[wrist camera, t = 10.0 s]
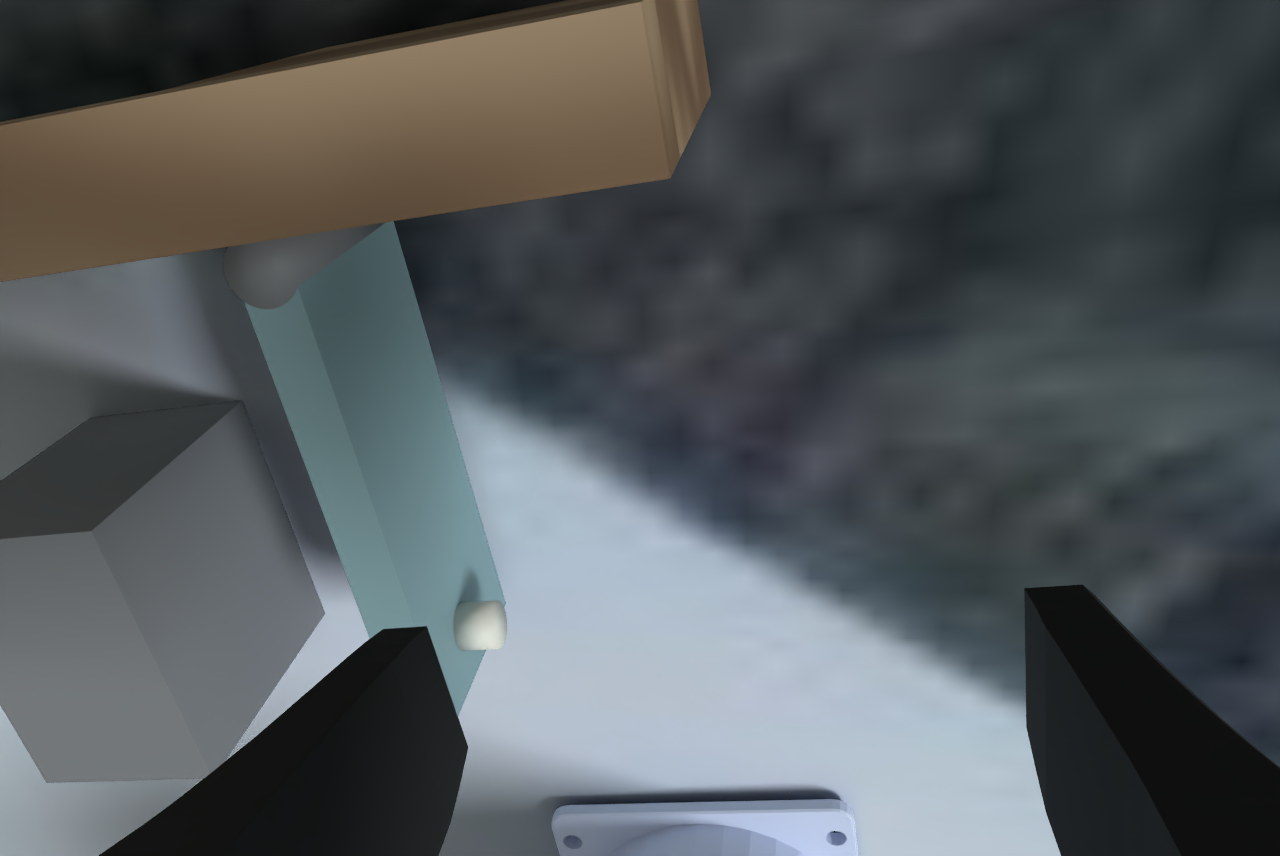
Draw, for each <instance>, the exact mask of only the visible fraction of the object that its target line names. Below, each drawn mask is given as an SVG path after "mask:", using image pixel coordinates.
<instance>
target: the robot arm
mask: <svg viewBox="0 0 1280 856" xmlns="http://www.w3.org/2000/svg"><path fill="white" fill-rule="evenodd" d="M1024 592H1025V656H1026V719H1027V731H1028V736H1029V740H1030V745H1031V749H1032V754H1033V758H1034V762H1035V767H1036V771H1037V776H1038V780H1039V784H1040V788H1041V793H1042V797H1043V801H1044V805H1045V810H1046V813H1047V816H1048V819H1049V822H1050V825H1051V828H1052V830H1053V833H1054V836H1055V839H1056V842H1057V845H1058V848H1059V850H1060V853H1061V856H1280V767H1279V766H1277V765H1276V764H1275V763H1274V762H1272V761H1271V760H1270V759H1269V758H1268V757H1266V756H1265V755H1264V754H1263V753H1261V752H1260V751H1259V750H1258V749H1257V748H1255V747H1254V746H1253V745H1252V744H1250V743H1249V742H1248V741H1247V740H1246V739H1245V738H1243V737H1242V736H1241V735H1240V734H1239V733H1238V732H1236V731H1235V730H1234V729H1233V728H1232V727H1231V726H1230V725H1228V724H1227V723H1226V722H1225V721H1224V720H1223V719H1222V718H1220V717H1219V716H1218V715H1217V714H1216V713H1215V712H1214V711H1213V710H1212V709H1211V708H1209V707H1208V706H1207V705H1206V704H1205V703H1204V702H1203V701H1202V700H1201V699H1200V698H1198V697H1197V696H1196V695H1195V694H1194V693H1193V692H1192V691H1191V690H1190V689H1189V688H1187V687H1186V686H1185V685H1184V684H1183V683H1182V682H1181V681H1180V680H1179V679H1178V678H1177V677H1175V676H1174V675H1173V674H1172V673H1171V672H1170V671H1169V670H1168V669H1167V668H1166V667H1165V666H1164V665H1163V664H1162V663H1161V662H1160V661H1159V660H1158V659H1157V658H1156V657H1155V656H1154V655H1153V654H1152V653H1151V652H1150V651H1149V650H1148V649H1147V648H1146V647H1145V646H1144V645H1143V644H1142V643H1141V642H1140V641H1139V640H1138V639H1137V638H1136V637H1135V636H1134V635H1133V634H1132V633H1131V632H1130V631H1129V630H1128V629H1127V628H1126V627H1125V626H1124V625H1123V624H1122V623H1121V622H1120V621H1119V620H1118V619H1117V618H1116V617H1115V616H1114V615H1113V614H1112V613H1111V612H1110V611H1109V610H1108V609H1107V607H1106V606H1105V605H1104V604H1103V603H1102V602H1101V601H1100V600H1099V599H1098V598H1097V597H1096V596H1095V595H1094V594H1093V593H1092V592H1091V591H1090V590H1088V589H1087V588H1086V587H1085V586H1084V585H1071V586H1055V587H1039V588H1024ZM467 750H468V745H467V742H466V739H465V737H464V734H463V731H462V728H461V725H460V722H459V719H458V716H457V713H456V710H455V707H454V704H453V701H452V698H451V695H450V692H449V690H448V687H447V684H446V681H445V678H444V675H443V672H442V669H441V666H440V663H439V660H438V657H437V654H436V651H435V648H434V645H433V643H432V640H431V637H430V634H429V631H428V628H427V626H422V627H406V628H390V629H382V630H381V631H380V632H378V633H377V634H376V635H374V636H373V637H372V638H370V639H369V640H368V641H367V642H365V643H364V644H363V645H362V646H360V647H359V648H358V649H357V650H356V651H354V652H353V653H352V654H351V655H350V656H349V657H347V658H346V659H345V660H344V661H343V662H342V663H340V664H339V665H338V666H337V667H336V668H335V669H333V670H332V671H331V672H330V673H329V674H328V675H327V676H325V677H324V678H323V679H322V680H321V681H320V682H319V683H317V684H316V685H315V686H314V687H313V688H312V689H311V690H309V691H308V692H307V693H306V694H305V695H304V696H302V697H301V698H300V699H299V700H298V701H297V702H296V703H294V704H293V705H292V706H291V707H290V708H289V709H287V710H286V711H285V712H284V713H283V714H282V715H280V716H279V717H278V718H277V719H276V720H275V721H274V722H272V723H271V724H270V725H269V726H268V727H267V728H265V729H264V730H263V731H262V732H261V733H260V734H258V735H257V736H256V737H255V738H254V739H253V740H251V741H250V742H249V743H248V744H246V745H245V746H244V747H243V748H241V749H240V750H239V751H238V752H236V753H235V754H234V755H233V756H231V757H230V758H229V759H228V760H226V761H225V762H224V763H223V764H221V765H220V766H219V767H218V768H216V769H215V770H214V771H213V772H211V773H210V774H209V775H208V776H207V777H205V778H204V779H203V780H202V781H200V782H199V783H198V784H197V785H195V786H194V787H193V788H192V789H190V790H189V791H188V792H187V793H185V794H184V795H183V796H182V797H180V798H179V799H178V800H176V801H175V802H174V803H172V804H171V805H170V806H168V807H167V808H166V809H164V810H163V811H162V812H160V813H159V814H157V815H156V816H155V817H153V818H152V819H151V820H149V821H148V822H146V823H145V824H144V825H142V826H141V827H139V828H138V829H137V830H135V831H134V832H132V833H131V834H129V835H128V836H126V837H125V838H124V839H122V840H121V841H119V842H118V843H116V844H115V845H113V846H112V847H110V848H109V849H108V850H106V851H105V852H103V853H102V854H100V855H99V856H438V855H439V852H440V850H441V847H442V844H443V842H444V839H445V836H446V833H447V831H448V828H449V825H450V822H451V818H452V814H453V810H454V806H455V802H456V799H457V795H458V791H459V787H460V782H461V777H462V773H463V768H464V764H465V759H466V755H467ZM551 828H552V831H553V835H554V838H555V841H556V845H557V848H558V851H559V854H560V856H859V853H858V845H857V837H856V829H855V820H854V813H853V810H852V808H851V807H850V806H849V805H848V804H847V803H845V802H843V801H841V800H835V799H814V800H770V801H726V802H681V803H637V804H593V805H566V806H561V807H559V808H558V809H556V810H555V812H554V814H553V818H552V822H551ZM832 831H839V832H840V833H833V832H832ZM571 835H573V836H571ZM574 836H577V837H574Z"/></svg>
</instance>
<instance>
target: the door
mask: <svg viewBox="0 0 1280 856" xmlns="http://www.w3.org/2000/svg"><path fill="white" fill-rule="evenodd" d="M223 272H224V276H225V279H226V281H227V283H228V285H229V287H230V288H231V290H232V291H233V292H234V293H235V294H236V296H238V297H239V298H240V299H241V300H242V301H244V303H245V306H246V309H247V311H248V314H249V317H250V320H251V322H252V325H253V328H254V330H255V333H256V336H257V338H258V341H259V344H260V346H261V349H262V352H263V354H264V357H265V360H266V362H267V365H268V368H269V370H270V373H271V376H272V378H273V381H274V384H275V386H276V389H277V392H278V394H279V397H280V400H281V402H282V405H283V408H284V410H285V413H286V416H287V418H288V421H289V424H290V426H291V429H292V432H293V435H294V437H295V440H296V443H297V445H298V448H299V451H300V453H301V456H302V459H303V461H304V464H305V467H306V469H307V472H308V475H309V477H310V480H311V483H312V485H313V488H314V491H315V493H316V496H317V499H318V501H319V504H320V507H321V509H322V512H323V515H324V517H325V520H326V523H327V525H328V528H329V531H330V533H331V536H332V539H333V541H334V544H335V547H336V550H337V552H338V555H339V558H340V560H341V563H342V566H343V568H344V571H345V574H346V576H347V579H348V582H349V584H350V587H351V590H352V592H353V595H354V598H355V600H356V603H357V606H358V608H359V611H360V614H361V616H362V619H363V622H364V624H365V627H366V630H367V632H368V635H369V638H372V637H373V636H374V635H376V634H377V633H378V632H380V631H381V630H382V629H390V628H406V627H422V626H427V628H428V631H429V634H430V637H431V640H432V643H433V645H434V648H435V651H436V654H437V657H438V660H439V663H440V666H441V669H442V672H443V675H444V678H445V681H446V684H447V687H448V690H449V692H450V695H451V698H452V701H453V704H454V707H455V710H456V713H457V716H458V715H459V712H460V710H461V708H462V705H463V703H464V701H465V698H466V696H467V694H468V691H469V689H470V687H471V684H472V682H473V679H474V677H475V675H476V672H477V670H478V668H479V665H480V663H481V661H482V658H483V656H484V654H485V651H486V650H487V649H500V648H502V647H503V645H504V643H505V640H506V634H507V618H506V612H505V609H504V606H505V604H506V602H505V599H504V596H503V592H502V589H501V585H500V582H499V579H498V575H497V572H496V568H495V565H494V562H493V558H492V555H491V551H490V548H489V545H488V541H487V538H486V534H485V531H484V528H483V524H482V521H481V517H480V514H479V511H478V507H477V504H476V500H475V497H474V494H473V490H472V487H471V483H470V480H469V477H468V473H467V470H466V466H465V463H464V460H463V456H462V453H461V449H460V446H459V443H458V439H457V436H456V432H455V429H454V426H453V422H452V419H451V415H450V412H449V409H448V405H447V402H446V398H445V395H444V392H443V388H442V385H441V381H440V378H439V375H438V371H437V368H436V364H435V361H434V358H433V354H432V351H431V347H430V344H429V341H428V337H427V334H426V330H425V327H424V324H423V320H422V317H421V313H420V310H419V307H418V303H417V300H416V296H415V293H414V289H413V286H412V283H411V279H410V276H409V272H408V269H407V266H406V262H405V259H404V255H403V252H402V249H401V245H400V242H399V238H398V235H397V232H396V228H395V225H394V221H391V222H385V223H378V224H372V225H365V226H359V227H352V228H346V229H339V230H333V231H326V232H320V233H314V234H307V235H301V236H294V237H288V238H281V239H275V240H268V241H262V242H255V243H249V244H242V245H236V246H229V247H228V248H227V250H226V251H225V254H224V257H223Z"/></svg>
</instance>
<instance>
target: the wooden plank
mask: <svg viewBox="0 0 1280 856" xmlns="http://www.w3.org/2000/svg"><path fill="white" fill-rule="evenodd" d="M710 95H711V91H710V84H709V77H708V70H707V63H706V56H705V49H704V42H703V36H702V29H701V22H700V15H699V8H698V1H697V0H565V1H560V2H555V3H550V4H544V5H539V6H534V7H529V8H524V9H519V10H514V11H509V12H504V13H499V14H494V15H489V16H483V17H478V18H473V19H468V20H463V21H458V22H453V23H448V24H443V25H438V26H433V27H427V28H422V29H417V30H412V31H407V32H402V33H397V34H392V35H387V36H382V37H377V38H372V39H366V40H361V41H356V42H351V43H346V44H341V45H336V46H331V47H326V48H322V49H318V50H314V51H311V52H307V53H303V54H299V55H295V56H291V57H288V58H284V59H280V60H276V61H272V62H269V63H265V64H261V65H257V66H253V67H250V68H246V69H242V70H238V71H234V72H230V73H227V74H223V75H219V76H215V77H211V78H208V79H204V80H200V81H196V82H192V83H188V84H185V85H181V86H177V87H173V88H169V89H166V90H162V91H158V92H153V93H147V94H142V95H137V96H132V97H127V98H122V99H116V100H111V101H106V102H101V103H96V104H91V105H86V106H80V107H75V108H70V109H65V110H60V111H55V112H49V113H44V114H39V115H34V116H29V117H24V118H19V119H13V120H8V121H3V122H0V282H3V281H10V280H16V279H23V278H29V277H35V276H42V275H48V274H55V273H61V272H68V271H74V270H81V269H87V268H94V267H100V266H107V265H113V264H120V263H126V262H132V261H139V260H145V259H152V258H158V257H165V256H171V255H178V254H184V253H191V252H197V251H204V250H210V249H217V248H223V247H229V246H236V245H242V244H249V243H255V242H262V241H268V240H275V239H281V238H288V237H294V236H301V235H307V234H314V233H320V232H326V231H333V230H339V229H346V228H352V227H359V226H365V225H372V224H378V223H385V222H391V221H398V220H404V219H411V218H417V217H423V216H430V215H436V214H443V213H449V212H456V211H462V210H469V209H475V208H482V207H488V206H495V205H501V204H508V203H514V202H520V201H527V200H533V199H540V198H546V197H553V196H559V195H566V194H572V193H579V192H585V191H592V190H598V189H605V188H611V187H617V186H624V185H630V184H637V183H643V182H650V181H656V180H663V179H669V178H671V176H672V174H673V172H674V170H675V167H676V165H677V163H678V161H679V159H680V157H681V155H682V153H683V151H684V149H685V147H686V145H687V143H688V141H689V139H690V137H691V135H692V132H693V130H694V128H695V126H696V124H697V122H698V120H699V118H700V116H701V114H702V112H703V110H704V108H705V106H706V104H707V102H708V100H709V97H710Z"/></svg>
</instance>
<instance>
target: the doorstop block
mask: <svg viewBox="0 0 1280 856" xmlns="http://www.w3.org/2000/svg"><path fill="white" fill-rule="evenodd" d="M324 614H325V612H324V609H323V607H322V604H321V601H320V599H319V596H318V594H317V591H316V589H315V586H314V583H313V581H312V578H311V576H310V573H309V571H308V568H307V565H306V563H305V560H304V558H303V555H302V553H301V550H300V547H299V545H298V542H297V540H296V537H295V535H294V532H293V529H292V527H291V524H290V522H289V519H288V517H287V514H286V511H285V509H284V506H283V504H282V501H281V499H280V496H279V494H278V491H277V488H276V486H275V483H274V481H273V478H272V476H271V473H270V470H269V468H268V465H267V463H266V460H265V458H264V455H263V452H262V450H261V447H260V445H259V442H258V440H257V437H256V434H255V432H254V429H253V427H252V424H251V422H250V419H249V416H248V414H247V411H246V409H245V406H244V404H243V401H233V402H224V403H216V404H207V405H198V406H190V407H181V408H172V409H163V410H155V411H146V412H137V413H129V414H120V415H111V416H102V417H94V418H90V419H88V420H87V421H85V422H84V423H83V424H81V425H80V426H78V427H77V428H75V429H74V430H73V431H71V432H70V433H68V434H67V435H65V436H64V437H63V438H61V439H60V440H58V441H57V442H56V443H54V444H53V445H51V446H50V447H48V448H47V449H46V450H44V451H43V452H41V453H40V454H38V455H37V456H36V457H34V458H33V459H31V460H30V461H28V462H27V463H26V464H24V465H23V466H21V467H20V468H19V469H17V470H16V471H14V472H13V473H11V474H10V475H9V476H7V477H6V478H4V479H3V480H1V481H0V705H1V707H2V709H3V710H4V712H5V714H6V715H7V717H8V719H9V720H10V722H11V724H12V725H13V727H14V729H15V730H16V732H17V734H18V735H19V737H20V739H21V740H22V742H23V744H24V746H25V747H26V749H27V751H28V752H29V754H30V756H31V757H32V759H33V761H34V762H35V764H36V766H37V767H38V769H39V771H40V772H41V774H42V776H43V777H44V779H45V781H46V782H47V783H54V782H90V781H126V780H163V779H199V778H205V777H207V776H208V775H209V774H210V773H211V772H213V771H214V770H215V769H216V768H218V767H219V766H220V765H221V764H223V763H224V762H225V760H226V759H227V757H228V756H229V754H230V753H231V751H232V750H233V748H234V747H235V746H236V744H237V743H238V741H239V740H240V738H241V737H242V735H243V734H244V732H245V731H246V729H247V728H248V726H249V725H250V723H251V722H252V721H253V719H254V718H255V716H256V715H257V713H258V712H259V710H260V709H261V707H262V706H263V704H264V703H265V701H266V700H267V698H268V697H269V695H270V694H271V693H272V691H273V690H274V688H275V687H276V685H277V684H278V682H279V681H280V679H281V678H282V676H283V675H284V673H285V672H286V670H287V669H288V667H289V666H290V665H291V663H292V662H293V660H294V659H295V657H296V656H297V654H298V653H299V651H300V650H301V648H302V647H303V645H304V644H305V642H306V641H307V639H308V638H309V637H310V635H311V634H312V632H313V631H314V629H315V628H316V626H317V625H318V623H319V622H320V620H321V619H322V617H323V616H324Z"/></svg>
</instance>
